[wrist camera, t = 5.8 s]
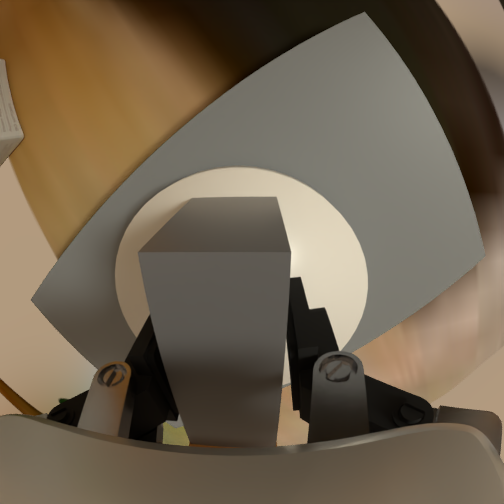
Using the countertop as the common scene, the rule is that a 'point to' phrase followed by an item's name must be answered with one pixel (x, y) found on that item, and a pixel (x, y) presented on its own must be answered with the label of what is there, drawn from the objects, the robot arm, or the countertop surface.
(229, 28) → the countertop surface
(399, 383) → the countertop surface
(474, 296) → the countertop surface
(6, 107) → the supplement box
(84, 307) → the dial base
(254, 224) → the dial
